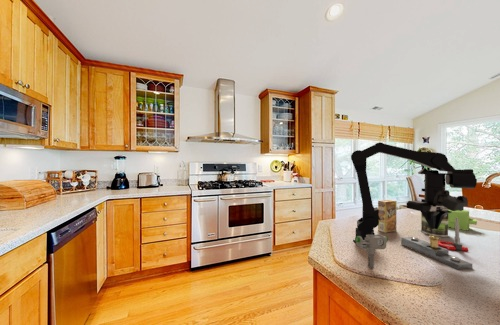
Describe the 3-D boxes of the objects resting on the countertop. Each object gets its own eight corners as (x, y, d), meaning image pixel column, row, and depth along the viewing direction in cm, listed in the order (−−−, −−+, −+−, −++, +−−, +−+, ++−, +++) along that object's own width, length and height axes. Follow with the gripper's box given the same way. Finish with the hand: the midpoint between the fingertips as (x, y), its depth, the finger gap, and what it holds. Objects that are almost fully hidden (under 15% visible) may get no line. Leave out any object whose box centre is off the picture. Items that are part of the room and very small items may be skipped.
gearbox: (429, 225, 117) (429, 209, 117) (432, 221, 123) (432, 206, 123) (476, 233, 103) (476, 214, 103) (477, 228, 109) (476, 211, 109)
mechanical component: (353, 264, 68) (353, 234, 68) (382, 264, 69) (382, 234, 69) (358, 269, 65) (359, 238, 65) (389, 268, 66) (389, 237, 66)
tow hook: (430, 242, 90) (447, 250, 81) (429, 213, 91) (446, 217, 82) (451, 244, 89) (471, 252, 80) (451, 214, 90) (470, 218, 80)
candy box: (385, 233, 100) (386, 202, 100) (377, 230, 104) (377, 200, 104) (396, 231, 104) (397, 200, 104) (388, 228, 108) (388, 199, 108)
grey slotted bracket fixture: (458, 269, 66) (458, 257, 66) (401, 244, 86) (401, 235, 86) (472, 268, 67) (472, 256, 67) (412, 243, 87) (412, 234, 87)
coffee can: (453, 238, 95) (453, 207, 95) (425, 235, 99) (425, 205, 99) (442, 231, 104) (442, 204, 104) (417, 228, 108) (417, 202, 108)
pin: (434, 257, 74) (434, 238, 74) (426, 254, 77) (426, 235, 77) (440, 257, 75) (441, 238, 75) (432, 253, 77) (433, 235, 78)
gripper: (436, 189, 67) (436, 237, 67) (482, 189, 70) (482, 235, 70) (405, 185, 78) (404, 227, 78) (446, 185, 81) (445, 225, 81)
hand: (434, 228), depth 76 cm, fingers closed
